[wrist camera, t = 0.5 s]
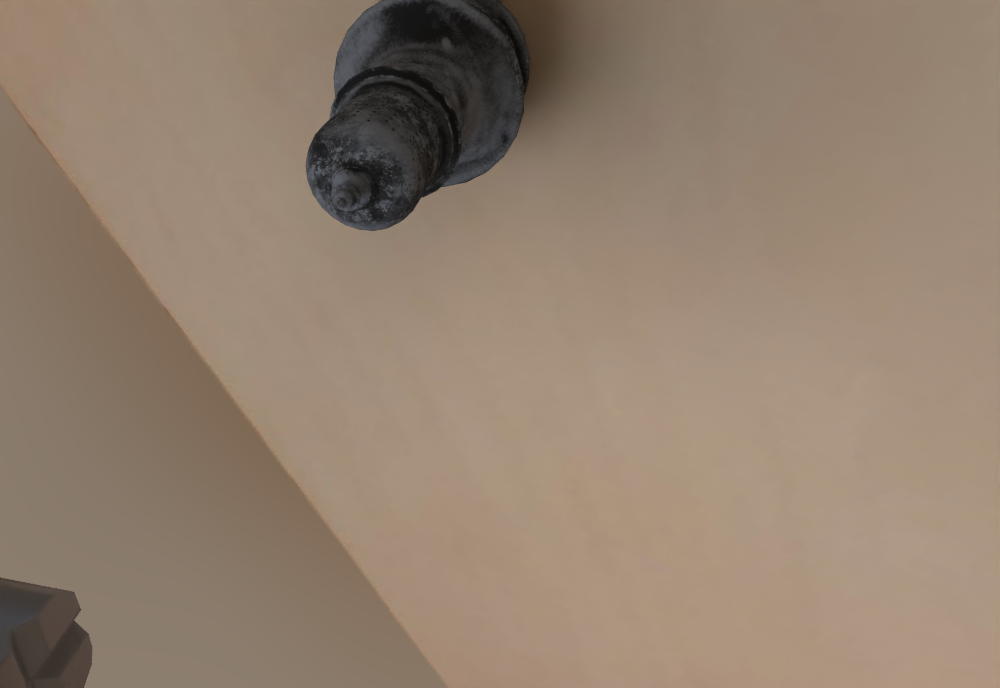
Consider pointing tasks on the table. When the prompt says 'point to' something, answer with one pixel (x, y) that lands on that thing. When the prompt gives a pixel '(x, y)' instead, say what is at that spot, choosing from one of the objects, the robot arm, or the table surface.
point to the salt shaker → (417, 106)
